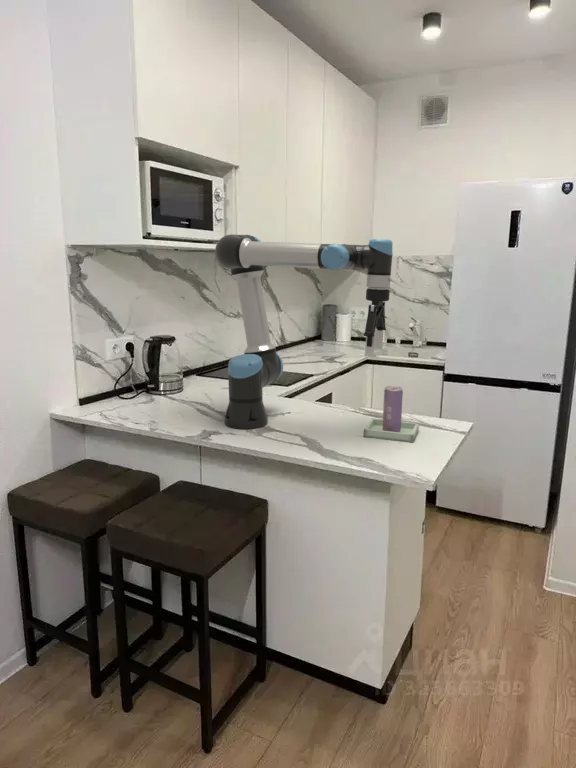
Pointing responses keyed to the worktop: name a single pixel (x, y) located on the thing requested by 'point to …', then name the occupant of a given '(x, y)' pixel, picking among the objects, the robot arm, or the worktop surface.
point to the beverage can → (392, 409)
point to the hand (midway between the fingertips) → (373, 352)
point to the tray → (406, 433)
